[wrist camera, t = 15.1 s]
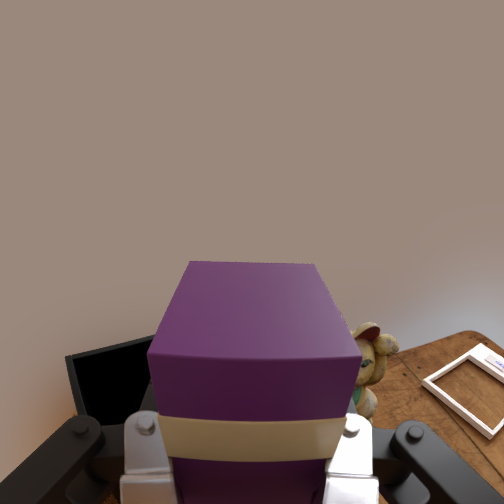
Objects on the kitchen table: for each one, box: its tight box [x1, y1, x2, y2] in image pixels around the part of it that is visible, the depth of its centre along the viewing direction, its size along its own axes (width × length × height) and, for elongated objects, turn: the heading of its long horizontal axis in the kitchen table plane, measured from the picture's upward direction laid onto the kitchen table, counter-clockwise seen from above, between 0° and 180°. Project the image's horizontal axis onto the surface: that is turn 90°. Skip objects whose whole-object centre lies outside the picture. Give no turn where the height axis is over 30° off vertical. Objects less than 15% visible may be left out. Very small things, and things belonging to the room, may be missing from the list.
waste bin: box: [65, 335, 155, 504], centre depth 24 cm, size 12×12×13 cm
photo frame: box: [422, 343, 504, 440], centre depth 34 cm, size 15×1×18 cm
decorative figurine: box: [350, 322, 399, 426], centre depth 31 cm, size 10×8×15 cm
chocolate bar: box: [147, 261, 363, 504], centre depth 9 cm, size 5×4×11 cm
